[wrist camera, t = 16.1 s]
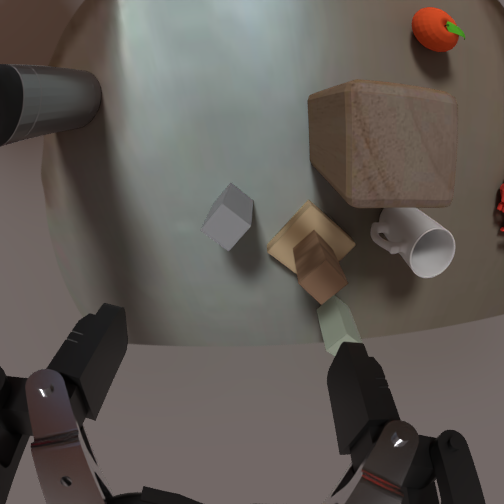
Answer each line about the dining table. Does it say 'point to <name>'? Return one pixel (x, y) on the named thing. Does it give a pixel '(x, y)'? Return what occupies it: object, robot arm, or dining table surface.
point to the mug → (415, 240)
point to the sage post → (336, 324)
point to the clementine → (435, 29)
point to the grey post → (229, 217)
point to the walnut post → (318, 268)
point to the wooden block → (385, 143)
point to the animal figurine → (503, 204)
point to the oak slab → (301, 227)
